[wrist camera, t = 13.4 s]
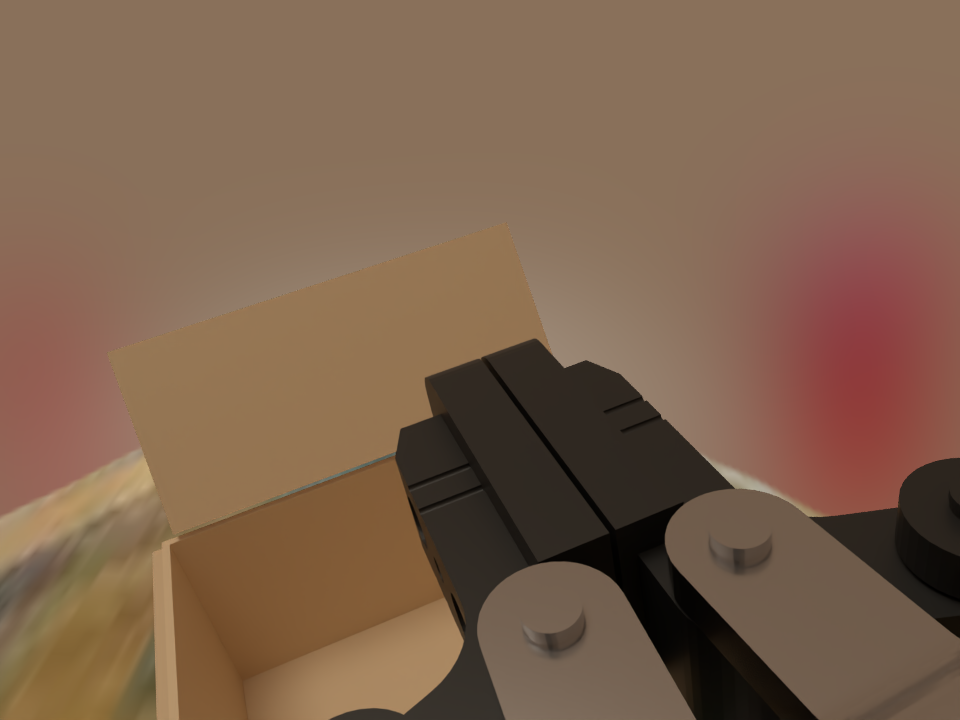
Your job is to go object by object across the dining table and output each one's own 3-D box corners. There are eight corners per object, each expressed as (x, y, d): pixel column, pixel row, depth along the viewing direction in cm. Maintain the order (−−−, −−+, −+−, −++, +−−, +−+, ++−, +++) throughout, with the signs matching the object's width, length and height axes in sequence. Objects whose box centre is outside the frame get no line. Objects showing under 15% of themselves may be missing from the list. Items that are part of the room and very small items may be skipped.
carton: (278, 1087, 34) (163, 951, 27) (230, 687, 51) (152, 546, 44) (810, 814, 39) (817, 645, 32) (604, 533, 55) (582, 385, 49)
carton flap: (106, 352, 43) (109, 353, 44) (173, 534, 44) (175, 532, 44) (506, 222, 48) (504, 224, 48) (564, 388, 48) (561, 388, 49)
